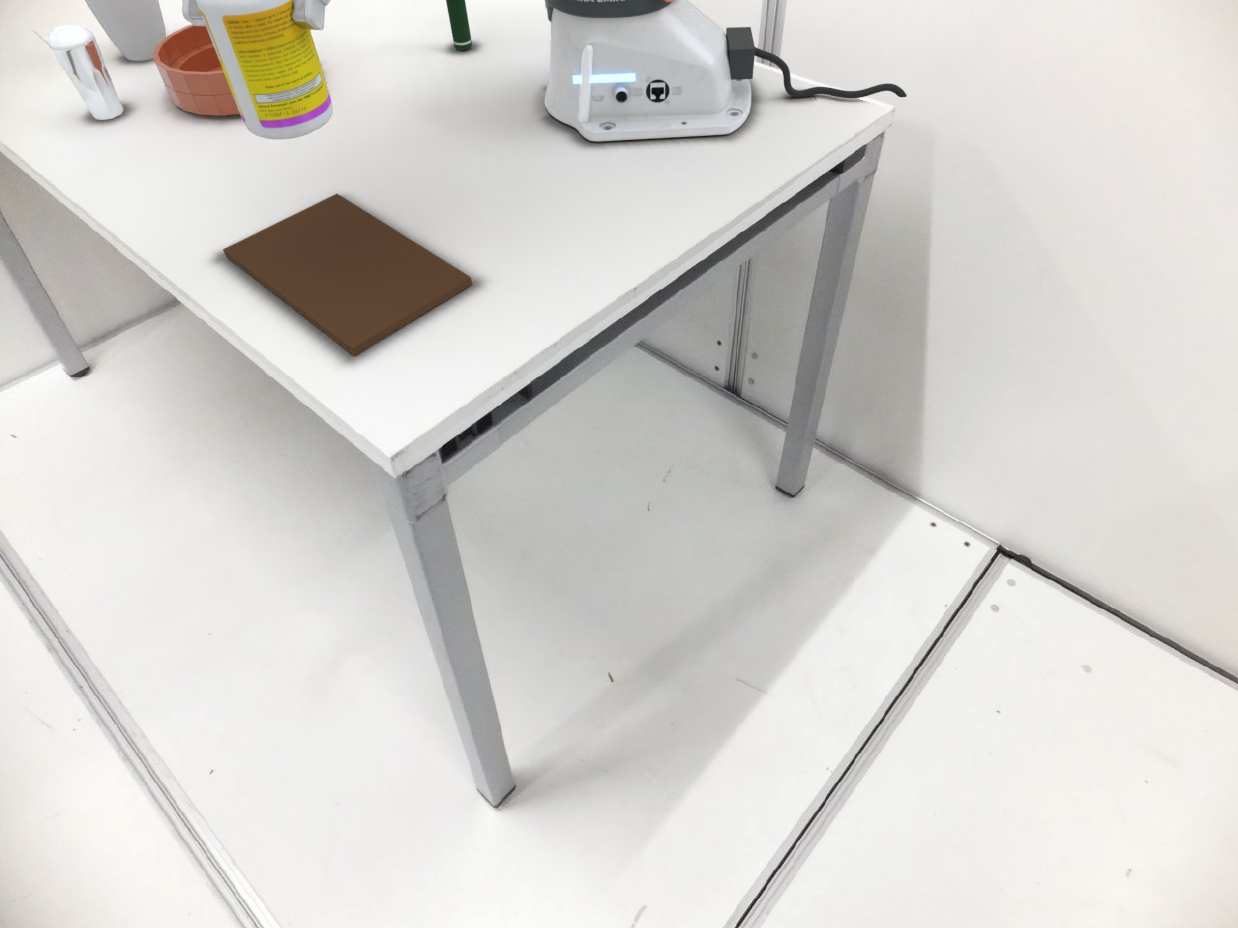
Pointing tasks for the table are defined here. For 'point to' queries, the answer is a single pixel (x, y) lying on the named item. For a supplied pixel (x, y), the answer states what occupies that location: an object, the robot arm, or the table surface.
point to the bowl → (194, 72)
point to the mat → (347, 272)
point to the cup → (131, 25)
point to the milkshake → (85, 69)
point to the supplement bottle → (269, 66)
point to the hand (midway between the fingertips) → (253, 25)
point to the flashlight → (459, 24)
